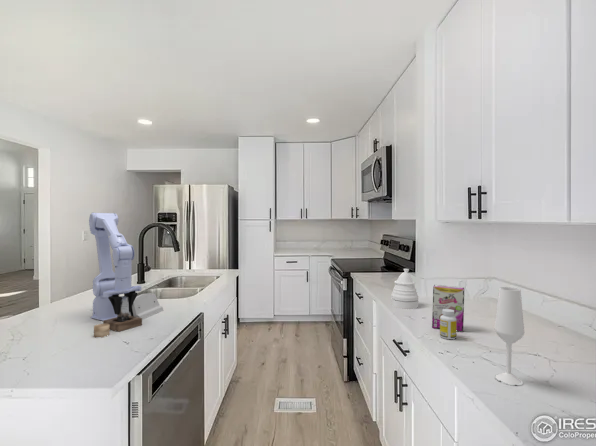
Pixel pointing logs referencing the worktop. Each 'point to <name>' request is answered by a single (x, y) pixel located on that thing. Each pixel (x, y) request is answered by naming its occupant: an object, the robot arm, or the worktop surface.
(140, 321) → the socket block
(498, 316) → the champagne flute
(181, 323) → the worktop surface
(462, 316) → the candy bar box
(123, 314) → the tall pin
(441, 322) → the supplement bottle
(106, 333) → the oak stub
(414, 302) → the honey pot
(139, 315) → the hinge
